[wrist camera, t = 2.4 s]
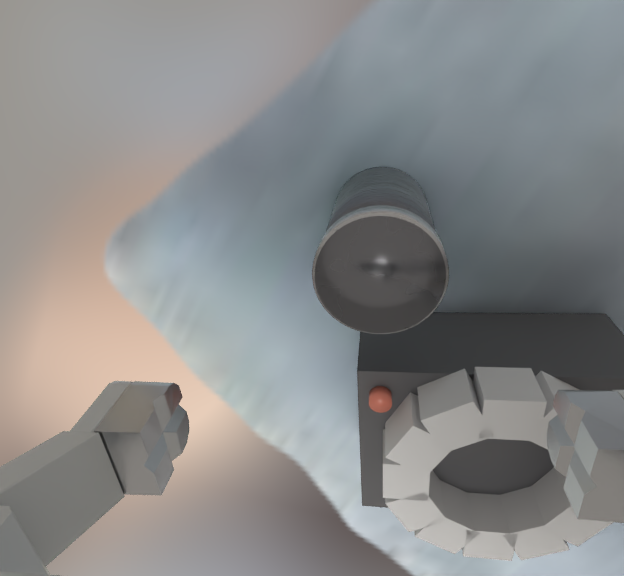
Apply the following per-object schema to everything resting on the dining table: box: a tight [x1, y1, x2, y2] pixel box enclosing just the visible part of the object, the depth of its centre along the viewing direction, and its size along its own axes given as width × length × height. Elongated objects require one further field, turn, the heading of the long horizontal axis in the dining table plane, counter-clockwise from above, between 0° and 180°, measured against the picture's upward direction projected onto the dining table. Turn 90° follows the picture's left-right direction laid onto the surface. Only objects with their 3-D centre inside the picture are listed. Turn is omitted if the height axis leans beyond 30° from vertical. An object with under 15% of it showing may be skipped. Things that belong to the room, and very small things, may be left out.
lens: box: [312, 167, 449, 334], centre depth 18 cm, size 5×5×7 cm
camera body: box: [357, 313, 624, 561], centre depth 22 cm, size 12×10×7 cm
